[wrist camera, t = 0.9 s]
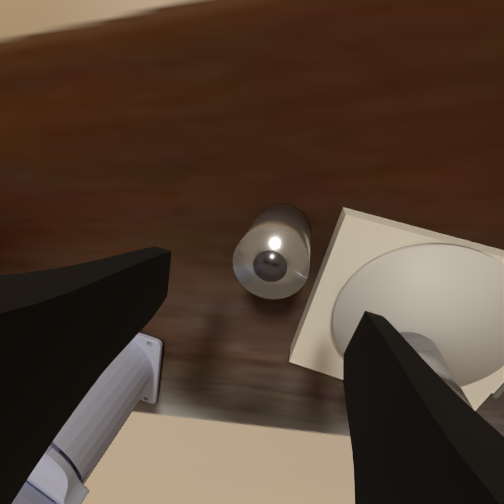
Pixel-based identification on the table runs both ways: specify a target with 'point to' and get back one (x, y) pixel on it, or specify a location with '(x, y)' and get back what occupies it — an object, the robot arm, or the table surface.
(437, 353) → the spacer
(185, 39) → the table surface
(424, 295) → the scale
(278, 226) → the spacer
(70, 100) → the table surface
